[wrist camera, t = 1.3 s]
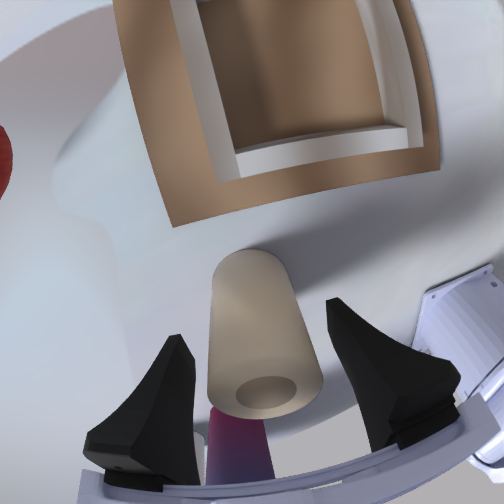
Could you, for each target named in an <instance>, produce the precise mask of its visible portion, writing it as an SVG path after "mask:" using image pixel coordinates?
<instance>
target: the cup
mask: <svg viewBox="0 0 504 504" xmlns="http://www.w3.org/2000/svg"><path fill="white" fill-rule="evenodd" d="M272 479H275V474H274V470H273V465H272V461H271V456H270V452H269V448H268V443H267V438H266V433H265V429H264V424H263V419H244V418H238V417H234V416H231V415H228V414H225V413H223V412H221V411H220V410H218V409H217V408H215V407H213V408H212V409H211V411H210V423H209V437H208V451H207V467H206V484H205V485H227V484H240V483H249V482H258V481H265V480H272ZM212 501H214V500H212Z"/></svg>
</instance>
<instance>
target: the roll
mask: <svg viewBox="0 0 504 504" xmlns="http://www.w3.org/2000/svg"><path fill="white" fill-rule="evenodd" d="M322 386H323V375H322V372H321V369H320V366H319V363H318V360H317V357H316V354H315V351H314V348H313V345H312V342H311V340H310V337H309V334H308V331H307V328H306V325H305V322H304V319H303V317H302V314H301V311H300V308H299V305H298V302H297V300H296V297H295V294H294V291H293V288H292V286H291V283H290V280H289V277H288V275H287V272H286V269H285V267H284V265H283V264H282V262H281V261H280V260H279V259H278V258H277V257H276V256H274V255H272V254H271V253H269V252H266V251H263V250H258V249H246V250H240V251H237V252H235V253H232V254H230V255H229V256H227V257H226V258H225V259H223V260H222V261H221V262H220V263H219V265H218V266H217V268H216V270H215V272H214V275H213V280H212V296H211V312H210V331H209V354H208V382H207V395H208V399H209V401H210V402H211V404H212V405H213V406H214V407H215V408H217V409H218V410H220V411H221V412H223V413H225V414H228V415H231V416H234V417H238V418H244V419H268V418H274V417H279V416H283V415H286V414H289V413H292V412H294V411H296V410H299V409H301V408H302V407H304V406H306V405H307V404H309V403H310V402H311V401H312V400H313V399H314V398H315V397H316V396H317V395H318V394H319V392H320V391H321V389H322Z"/></svg>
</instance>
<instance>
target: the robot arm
mask: <svg viewBox="0 0 504 504" xmlns="http://www.w3.org/2000/svg"><path fill="white" fill-rule="evenodd" d="M493 268H494V266H493V265H492V264H488V265H486V266H484V267H482V268H480V269H478V270H476V271H474V272H471V273H469V274H467V275H465V276H463V277H460V278H458V279H456V280H453V281H451V282H449V283H446V284H444V285H442V286H439V287H437V288H434V289H432V290H429V291H427V292H426V293H425V294H424V296H423V300H422V306H421V311H420V315H419V320H418V324H417V329H416V333H415V337H414V341H413V344H412V348H410V347H408V346H405V345H403V344H401V343H399V342H397V341H395V340H394V339H392V338H390V337H388V336H387V335H385V334H384V333H382V332H381V331H379V330H378V329H376V328H375V327H373V326H372V325H371V324H369V323H368V322H367V321H365V320H364V319H363V318H361V317H360V316H359V315H358V314H357V313H355V312H354V311H353V310H352V309H351V308H350V307H348V306H347V305H346V304H345V303H344V302H343V301H342V300H341V299H340V298H338V297H337V298H333V299H330V300H326V312H327V326H328V332H329V335H330V338H331V341H332V344H333V347H334V349H335V351H336V353H337V355H338V357H339V359H340V361H341V363H342V365H343V367H344V369H345V371H346V374H347V376H348V378H349V380H350V382H351V384H352V387H353V389H354V392H355V395H356V398H357V401H358V404H359V407H360V410H361V414H362V417H363V420H364V424H365V427H366V431H367V435H368V439H369V443H370V447H371V451H372V453H371V454H368V455H365V456H362V457H360V458H357V459H354V460H351V461H348V462H345V463H341V464H338V465H335V466H331V467H328V468H324V469H320V470H316V471H312V472H308V473H303V474H299V475H294V476H289V477H283V478H278V479H272V480H265V481H258V482H249V483H240V484H227V485H204V486H201V482H200V477H199V472H198V467H197V460H196V453H195V444H194V432H193V408H194V395H195V383H196V369H195V359H194V357H193V356H192V354H191V352H190V350H189V349H188V347H187V345H186V343H185V341H184V340H183V338H182V336H181V334H177V335H171V336H169V337H168V339H167V340H166V342H165V344H164V345H163V347H162V349H161V351H160V352H159V354H158V356H157V357H156V359H155V361H154V362H153V364H152V366H151V367H150V369H149V370H148V372H147V373H146V375H145V376H144V378H143V379H142V381H141V382H140V383H139V385H138V386H137V387H136V389H135V390H134V391H133V392H132V394H131V395H130V396H129V397H128V398H127V399H126V400H125V401H124V402H123V404H121V406H120V407H119V408H118V409H117V410H116V411H114V412H113V413H112V414H111V415H110V416H109V417H108V418H106V419H105V420H104V421H103V422H101V423H100V424H99V425H97V426H96V427H95V428H93V429H92V430H90V431H89V432H88V433H87V437H86V440H85V445H84V449H83V454H84V456H85V457H86V458H87V459H89V460H90V461H92V462H93V463H95V464H96V465H98V466H100V467H102V468H103V469H105V474H102V473H99V472H95V471H90V470H86V469H83V470H82V475H81V480H80V486H79V492H78V499H77V504H383V503H385V502H387V501H390V500H392V499H395V498H397V497H399V496H401V495H403V494H406V493H408V492H410V491H412V490H414V489H416V488H418V487H420V486H422V485H423V484H425V483H427V482H429V481H431V480H433V479H434V478H436V477H438V476H440V475H441V474H443V473H445V472H446V471H448V470H450V469H451V468H453V467H454V466H456V465H457V464H459V463H460V462H462V461H463V460H465V459H467V460H468V462H469V463H471V464H472V465H474V466H475V467H477V468H479V469H481V470H482V471H484V472H485V473H486V474H487V475H488V477H489V478H490V479H491V481H492V482H493V483H504V284H503V283H502V282H501V281H500V280H499V279H498V278H497V277H495V276H494V275H493V274H492V272H493ZM428 349H429V350H430V351H431V353H432V354H433V356H431V355H428V354H425V353H422V352H424V351H426V350H428ZM455 390H456V392H457V394H458V395H459V397H460V399H461V400H462V402H463V403H461V404H460V405H459V406H458V407H457V408H456V407H455V405H454V403H455V399H454V397H453V393H454V392H455ZM339 480H343V481H342V483H341V484H337V485H332V486H328V487H323V488H318V489H312V490H310V489H309V488H313V487H318V486H321V485H325V484H329V483H333V482H336V481H339ZM305 489H306V490H305ZM212 500H214V501H212Z"/></svg>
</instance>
